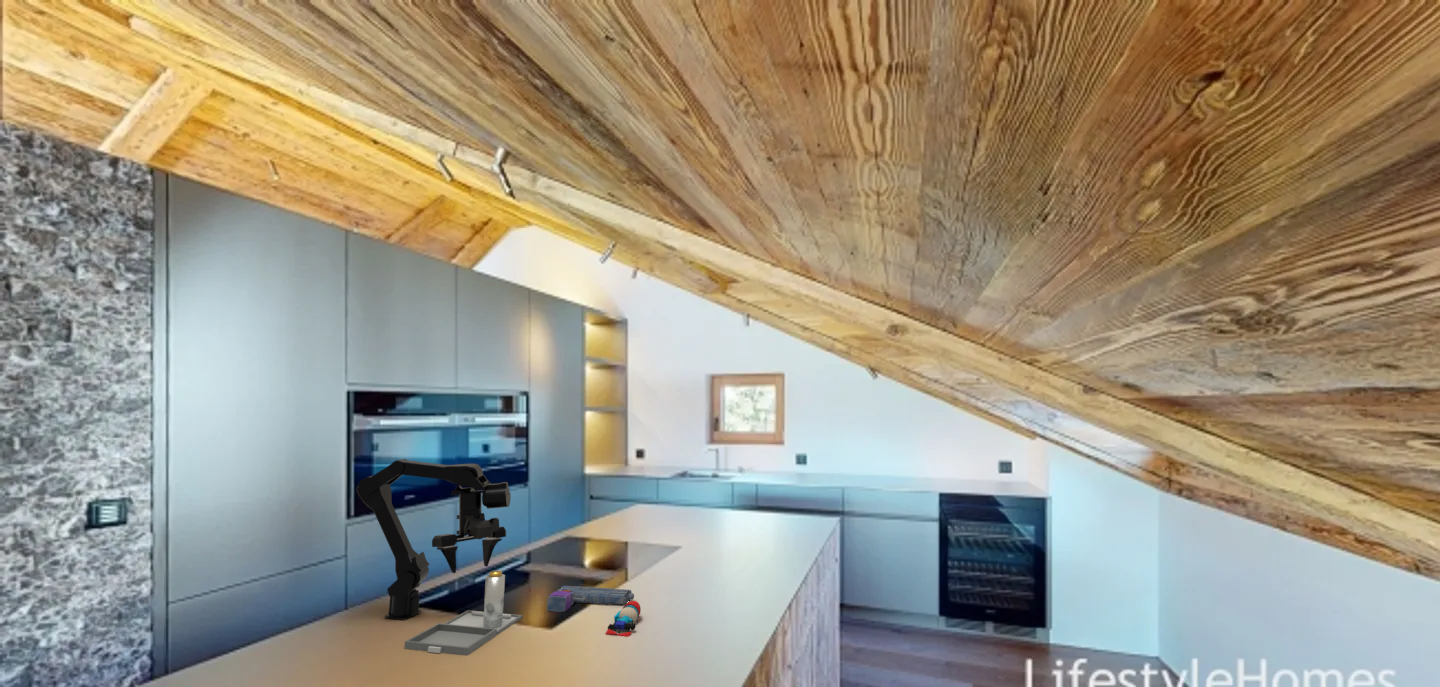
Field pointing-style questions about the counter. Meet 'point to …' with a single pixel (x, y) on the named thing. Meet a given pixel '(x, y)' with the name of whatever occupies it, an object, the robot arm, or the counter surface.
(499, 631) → the lid
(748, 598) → the counter surface
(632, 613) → the toy figure
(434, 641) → the case
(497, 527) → the robot arm
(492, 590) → the grey cylinder
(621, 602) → the toy gun
